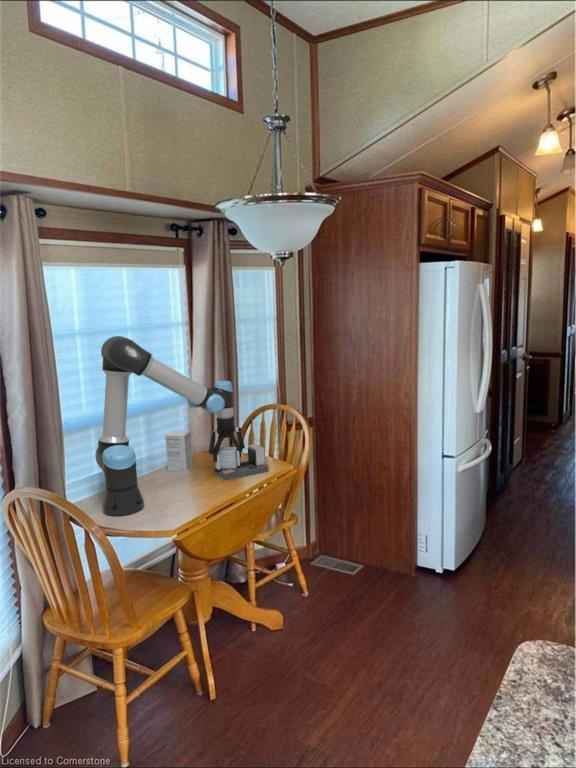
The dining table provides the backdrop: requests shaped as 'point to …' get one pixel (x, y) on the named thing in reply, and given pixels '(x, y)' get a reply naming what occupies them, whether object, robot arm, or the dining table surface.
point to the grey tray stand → (246, 465)
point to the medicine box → (228, 457)
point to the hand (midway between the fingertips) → (227, 466)
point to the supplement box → (179, 450)
